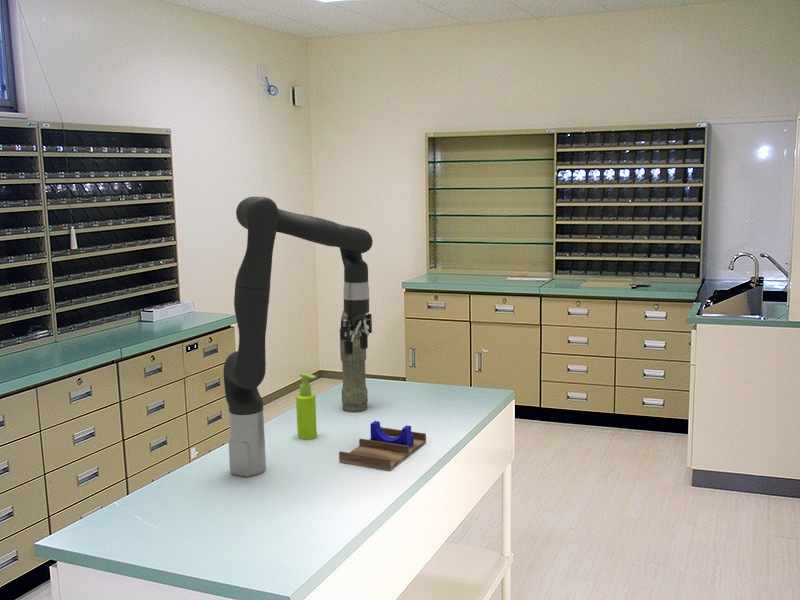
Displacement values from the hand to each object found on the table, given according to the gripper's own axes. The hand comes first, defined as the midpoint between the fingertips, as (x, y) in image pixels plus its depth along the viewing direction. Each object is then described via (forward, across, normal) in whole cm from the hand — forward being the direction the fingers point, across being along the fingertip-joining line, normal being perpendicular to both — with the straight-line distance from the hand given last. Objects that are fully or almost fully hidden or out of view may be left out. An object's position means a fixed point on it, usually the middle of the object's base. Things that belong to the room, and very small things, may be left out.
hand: (356, 351), depth 231 cm
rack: (+28, -3, -10) cm, 31 cm away
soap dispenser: (+29, 0, +18) cm, 34 cm away
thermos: (+28, +31, +19) cm, 46 cm away
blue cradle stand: (+28, +2, -10) cm, 30 cm away
